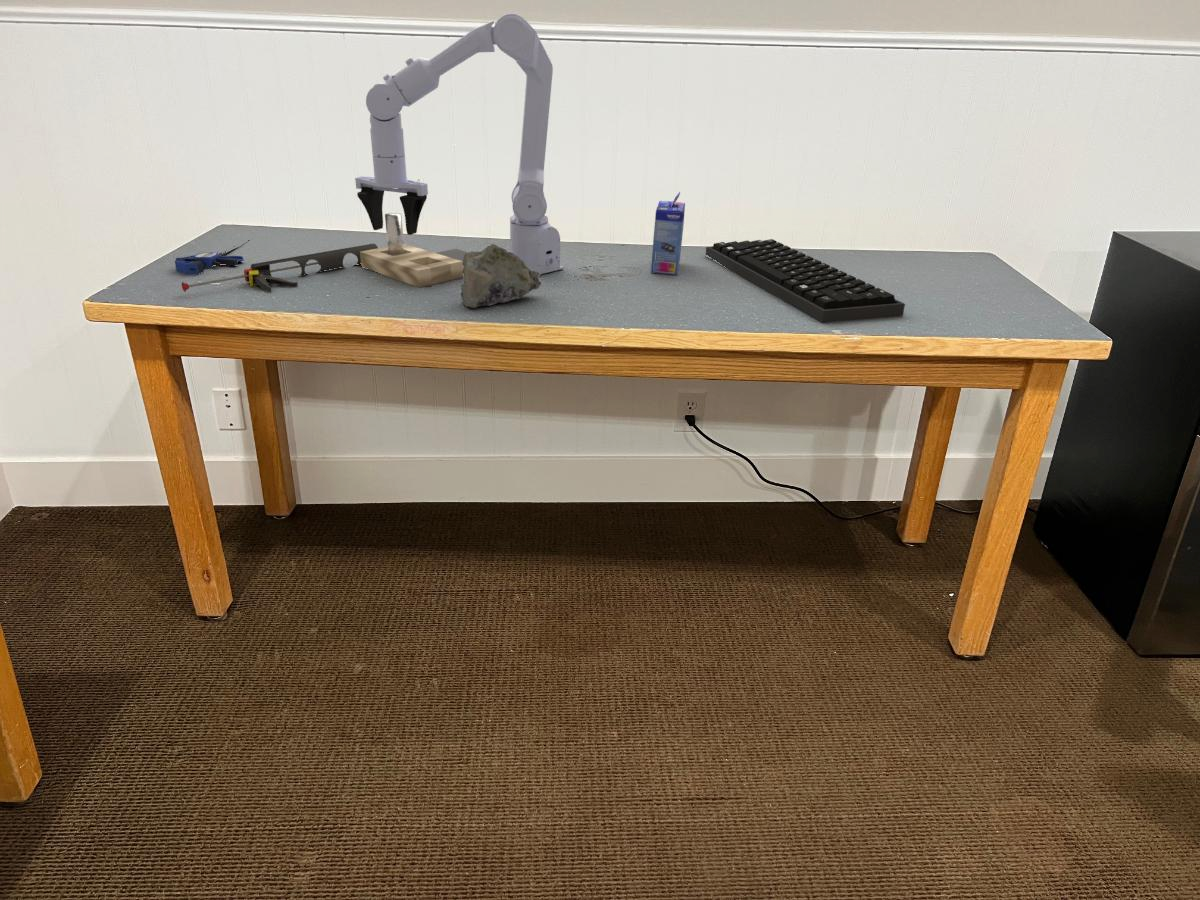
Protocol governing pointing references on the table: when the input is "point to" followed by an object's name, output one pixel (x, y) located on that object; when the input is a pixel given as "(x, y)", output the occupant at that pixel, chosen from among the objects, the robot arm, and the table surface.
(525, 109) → the robot arm
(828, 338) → the table surface
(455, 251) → the mat
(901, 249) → the table surface
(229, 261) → the bar clamp
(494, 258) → the mineral rock
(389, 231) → the peg
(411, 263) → the hole block
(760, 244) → the computer keyboard
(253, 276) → the caulking gun
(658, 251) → the ink cartridge box
